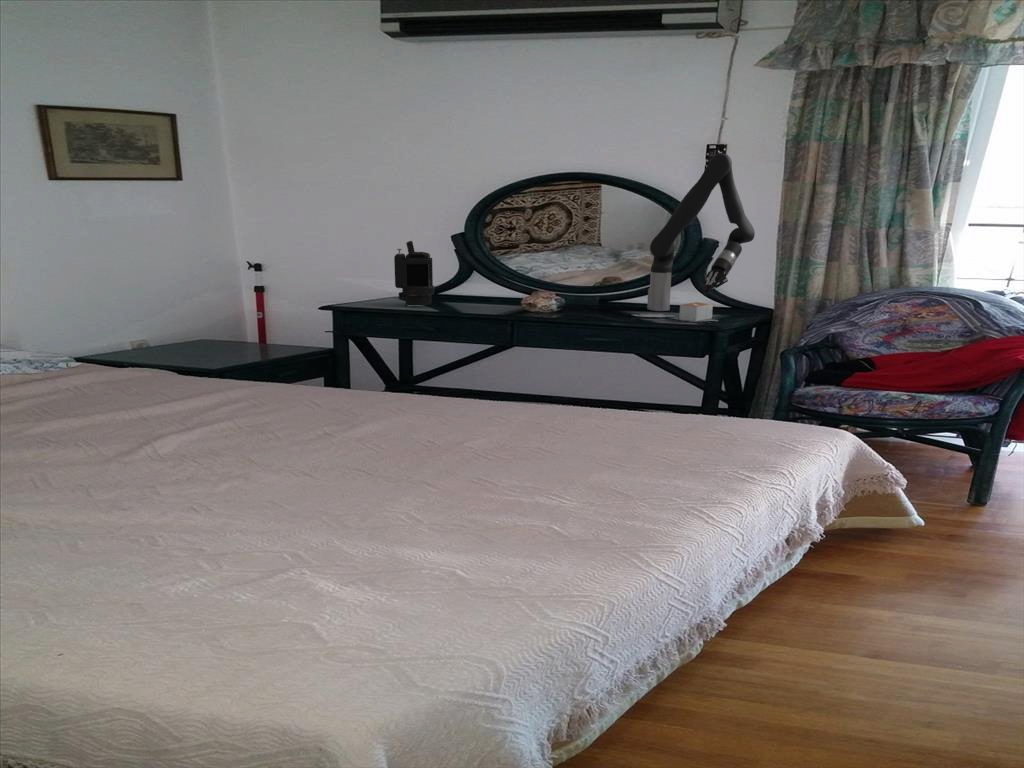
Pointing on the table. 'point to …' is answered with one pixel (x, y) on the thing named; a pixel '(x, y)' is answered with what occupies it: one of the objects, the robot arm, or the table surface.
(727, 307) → the table surface
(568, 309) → the table surface
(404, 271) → the black boxy device
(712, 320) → the mat
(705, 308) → the small box
